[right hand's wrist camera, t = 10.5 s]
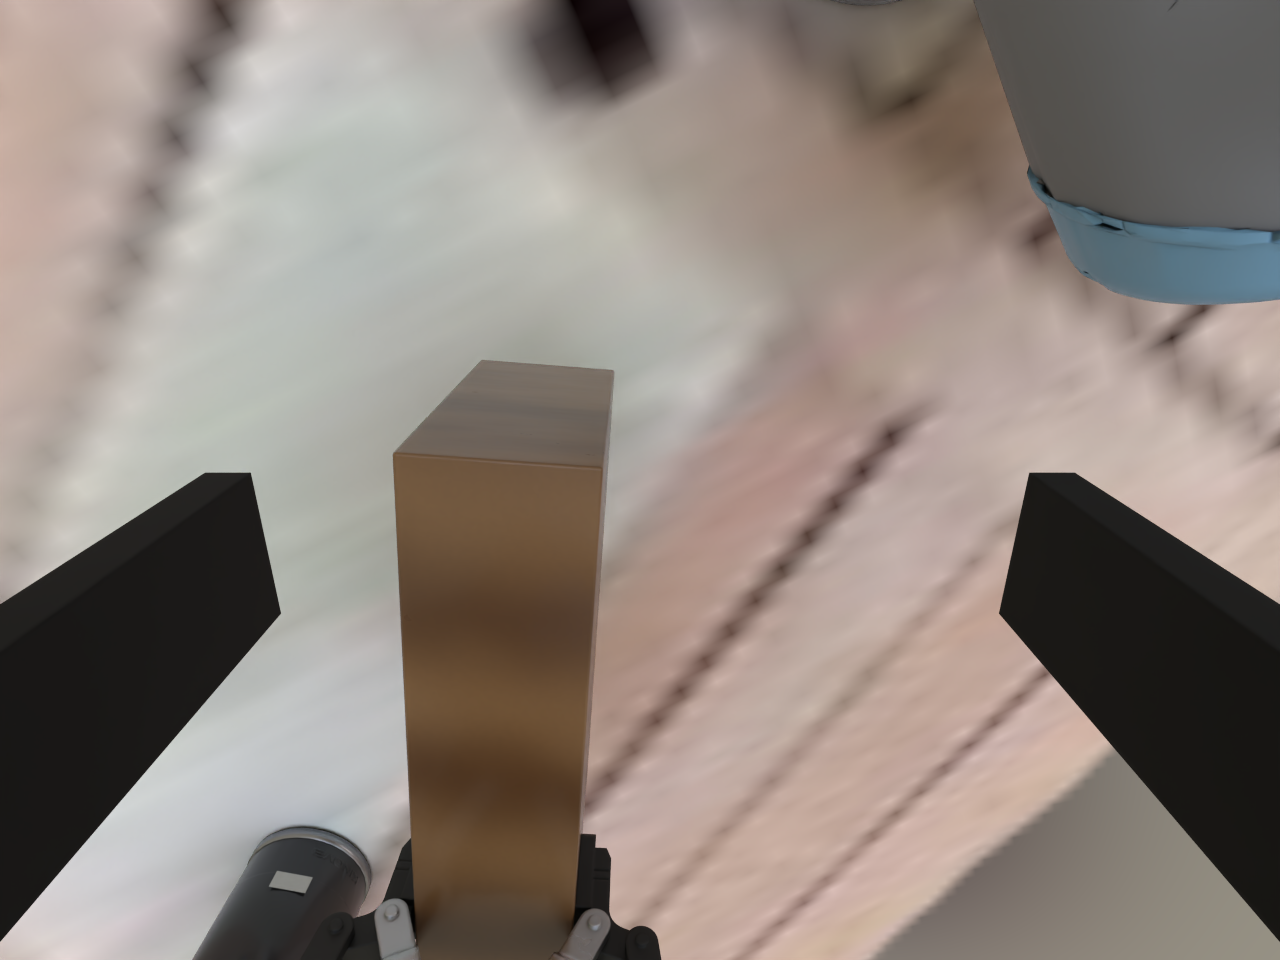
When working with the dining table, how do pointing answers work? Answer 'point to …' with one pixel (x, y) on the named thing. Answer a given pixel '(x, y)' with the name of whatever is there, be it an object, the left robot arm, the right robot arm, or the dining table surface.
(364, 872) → the left robot arm
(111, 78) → the dining table surface
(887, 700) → the dining table surface
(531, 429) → the box
